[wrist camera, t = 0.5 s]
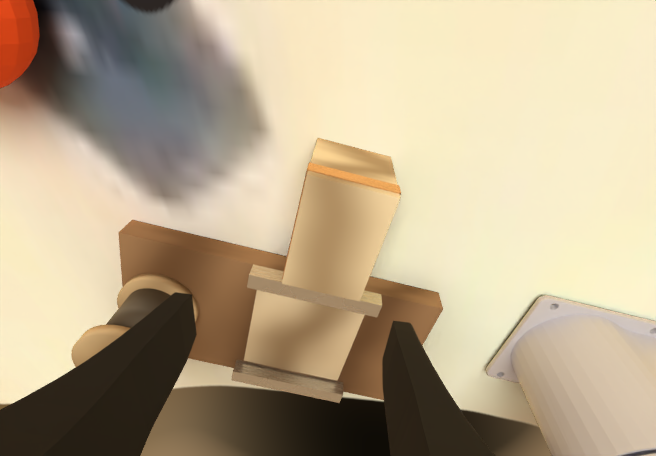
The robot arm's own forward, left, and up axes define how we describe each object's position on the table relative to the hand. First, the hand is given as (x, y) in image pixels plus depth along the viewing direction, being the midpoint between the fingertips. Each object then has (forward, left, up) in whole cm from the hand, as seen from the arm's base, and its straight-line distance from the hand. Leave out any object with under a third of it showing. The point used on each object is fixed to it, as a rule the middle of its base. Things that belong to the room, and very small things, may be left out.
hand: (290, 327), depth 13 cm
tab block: (-1, -1, -10) cm, 10 cm away
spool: (+8, +9, -8) cm, 15 cm away
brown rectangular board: (+1, +9, -9) cm, 13 cm away
